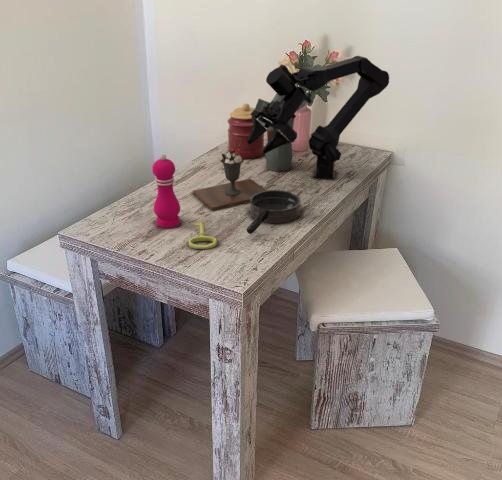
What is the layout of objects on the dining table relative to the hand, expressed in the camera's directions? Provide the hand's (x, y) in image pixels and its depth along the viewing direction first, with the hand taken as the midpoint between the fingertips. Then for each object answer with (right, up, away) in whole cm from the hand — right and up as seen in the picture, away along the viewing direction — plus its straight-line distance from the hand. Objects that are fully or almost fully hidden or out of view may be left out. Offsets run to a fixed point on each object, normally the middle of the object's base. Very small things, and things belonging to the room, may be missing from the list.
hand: (255, 147), depth 172 cm
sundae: (-7, -13, +4) cm, 15 cm away
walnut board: (-7, -14, +4) cm, 16 cm away
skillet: (+5, -20, -7) cm, 22 cm away
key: (-15, -29, -20) cm, 38 cm away
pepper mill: (-25, -24, -12) cm, 36 cm away
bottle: (+8, -1, +24) cm, 25 cm away
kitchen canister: (-2, +6, +36) cm, 37 cm away
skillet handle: (0, -25, -18) cm, 31 cm away
